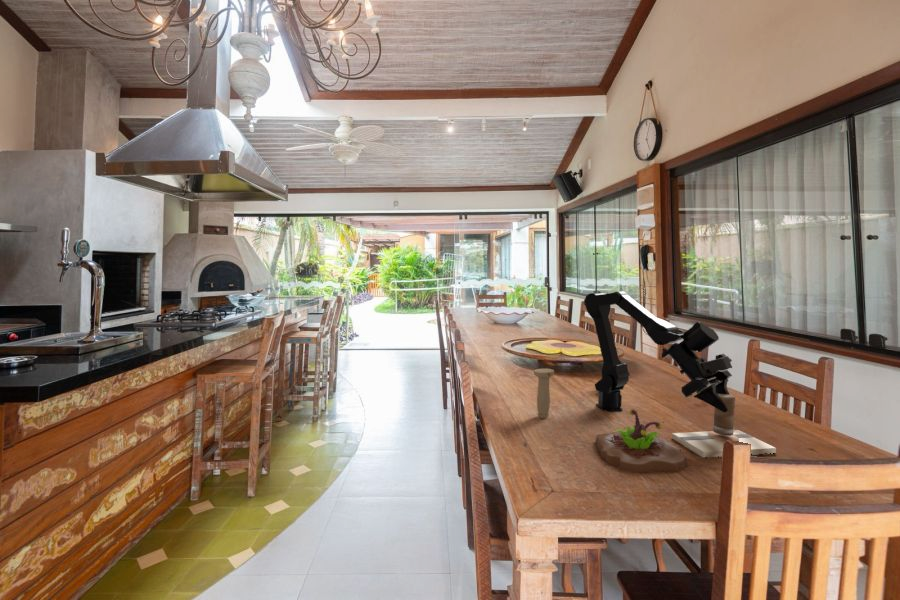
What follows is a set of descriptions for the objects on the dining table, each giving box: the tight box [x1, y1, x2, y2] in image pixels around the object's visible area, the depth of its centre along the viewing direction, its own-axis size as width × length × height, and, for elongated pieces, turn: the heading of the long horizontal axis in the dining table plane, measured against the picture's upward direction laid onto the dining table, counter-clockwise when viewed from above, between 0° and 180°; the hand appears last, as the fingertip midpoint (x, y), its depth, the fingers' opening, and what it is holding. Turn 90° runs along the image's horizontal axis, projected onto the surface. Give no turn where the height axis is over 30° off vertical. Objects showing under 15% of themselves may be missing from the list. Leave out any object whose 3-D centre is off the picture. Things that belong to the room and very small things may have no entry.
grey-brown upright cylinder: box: [712, 394, 736, 436], centre depth 113 cm, size 5×5×10 cm
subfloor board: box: [671, 429, 777, 459], centre depth 111 cm, size 20×12×2 cm, turn 96°
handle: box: [533, 368, 555, 420], centre depth 132 cm, size 5×6×15 cm
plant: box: [595, 408, 688, 474], centre depth 106 cm, size 20×20×11 cm
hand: (730, 409), depth 112 cm, fingers closed on grey-brown upright cylinder, 4 cm apart
